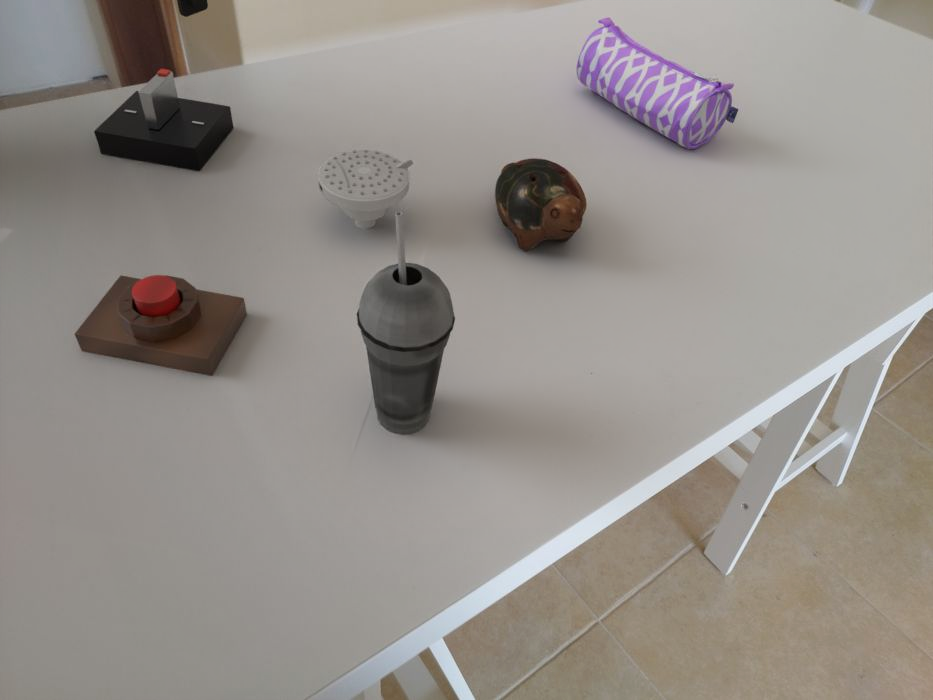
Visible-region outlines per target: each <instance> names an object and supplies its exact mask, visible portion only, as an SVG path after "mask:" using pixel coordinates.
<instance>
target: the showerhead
mask: <svg viewBox="0 0 933 700" xmlns="http://www.w3.org/2000/svg"><path fill="white" fill-rule="evenodd" d="M413 165H414V161H413V160H412V159H411V158H407V159H405V160H403V161H401V160H400V159H399V158H397V157H395V156H394V155H392V154H389V153H386V152H383V151H378V150H372V149H354V150H347V151H343V152H339V153H337V154H333V155H332V156H331V157H329V158H327V159H326V160H324V162H322V164H321V165H320V167H319V168H318V172H317V179H318V189H319V191H320V193H321V195H322V196H323V198H324V199H326V200H327V201H328V202H330V203H332V204H333V205H335V206H337V207H340V208H342V211H343V213H344V214H345V215H346V216H347V217H349V218H351V219H352V220H354V224H355V226H356V227H358V228H359V229H365V230H367V229H372V228H373V227H375V225H376V220H377V219H380V218H381V217H383V216H384V215H385V214H387V213H386V212H387V210H388V208H391V207H393V206H395V205H397V204H398V203H400V202H401V201H403V200H404V198H406V196H407V195H408V192H409V190H410V180H411V179H410V178H411V174H410V171H409V168H410V167H411V166H413Z"/></svg>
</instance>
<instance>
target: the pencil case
mask: <svg viewBox="0 0 933 700" xmlns="http://www.w3.org/2000/svg"><path fill="white" fill-rule="evenodd" d="M597 21H598V22H597V23H598V24H602V25H603V26H600V27H597V28H596V29H594V30H593V31H592V32H591V33H590V34H589V35H588V37H587V38H586V40H585V42H584V44H583V46H582V49H581V50H580V53H579V56H578V58H577V63H576V77H577V79H578V81H579V82H580V84H582V85H583V86H584V87H587V88H588V89H589V90H590V91H591V92H594V93H595V94H597V95H599V96H600V97H602V98H603V99H605V100H606V101H608V102H609V103H611V104H612V105H614V106H615V107H616V108H618V109H619V110H621V111H623V112H624V113H626V114H627V115H629V116H631V117H632V118H634V119H636V120H637V121H639V122H640V123H642V124H644V125H646V126H647V127H649V128H651V129H652V130H654V131H655V132H657V133H659V134H661V135H662V136H664V137H665V138H667V139H670V140H671V141H673V142H675V143H676V144H678V145H679V146H681V147H683V148H686V149H688V150H693V149H694V150H695V149H697V148H699V147H700V146H703V145H705V144H706V143H708V142H710V141H711V140H712V139H713V138H714V137H716V135H717V134H718V133H719V131H720V130H721V129H722V127H723V126H724V124H725V122H726V121H727V122H728V123H730V124H734V122H735V120H736V117H737V114H738V112H739V108H738V107H734V106H732V104H733V95H732V93H731V92H730V90H732V89H733V87H734V86H735V83H733V82H731V83H730V82H727V83H723V82H722V81H720V80H719V78H718V77H716V76H712V77H709V76H707V75H704V74H701V73H696V72H694V71H692V70H689V69H688V68H687V67H686V68H685V67H684V66H682V65H680V64H678V63H676V62H674V61H671V60H668V59H667V58H664V57H663V56H661V55H660V54H658V53H656V52H654V51H652V50H650V49H648V48H647V47H645V46H644V45H642V44H641V43H638V42H637V41H635V40H634V39H633V38H631V37H630V36H629V35H628V34H627V33H626V32H625V31H623V30H622V29H621V28H620V26H618V25H616V24H615V22H614V21H613V20H612V19H611V17H608V16H607V17H604V18H601V19H598V20H597Z"/></svg>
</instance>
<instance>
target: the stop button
mask: <svg viewBox="0 0 933 700" xmlns="http://www.w3.org/2000/svg"><path fill="white" fill-rule="evenodd" d="M167 276H168V275H167ZM167 276H164V275H163V274H162V275H161V274H155V275H149V276H146V277H143V278H140V279H141V280H140V281H138V282H137V283H136V284H135V285H134V287H133V289H132V295H133V298H134V301H135V304H136V307H137V310H138V311H139V312H140V313H141V314H142V315H144V316H148V317H158V316H164V315H168V314H170V313H171V312H173V311H175V310H176V309H177V308H178V306H179V304H180V297H179V293H178V290H177V286H176V283H175V281H174V280H173V279H171V278H169V277H167Z"/></svg>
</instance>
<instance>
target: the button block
mask: <svg viewBox="0 0 933 700" xmlns="http://www.w3.org/2000/svg"><path fill="white" fill-rule="evenodd" d="M163 276H167V277H169V278H171V279H173V280H174V281H175V283H176V286H177V290H178V293H179V297H180V304H179V306H178V308H177V309H176V310H175V311H173V312H171V313H170V314H168V315H164V316H158V317H148V316H144V315H142V314H141V313H140V312H139V311H138V310H137V307H136V304H135V301H134V298H133V295H132V289H133V287H134V285H135V284H136V283H137V282H138V281H140V280H141V279H142V278H136V277H132V276H127V275H119V277H118V278H117V279H116V280H115V282H114V283H113V284H112V286H111V287H109V289H108V290H107V292H106V293H105V295H104V296H103V297H102V298H101V300H100V301H99V302H98V303H97V304H96V306H95V307H94V308H93V310H92V311H91V312H90V313H89V315H88V316H87V317H86V318H85V320H84V321H83V322H82V323H81V325H80V326H79V327H78V329H77V330H76V331H75V332H74V337H75V340H76V341H77V344H78V347H79V348H80V351H81V352H84V353H90V354H94V355H100V356H106V357H110V358H116V359H121V360H126V361H131V362H137V363H142V364H148V365H153V366H157V367H162V368H168V369H172V370H173V369H174V370H178V371H183V372H189V373H193V374H194V373H195V374H199V375H205V376H209V377H213V376H214V374H215V372H216V370H217V369H218V367H219V365H220V364H221V361H222V360H223V358H224V356H225V354H226V353H227V351H228V349H229V348H230V346H231V344H232V342H233V341H234V339H235V337H236V335H237V334H238V331H239V330H240V328H241V327H242V325H243V323H244V321H245V320H246V318H247V316H248V313H247V306H246V302H245V301H246V300H245V298H244V297H240V296H235V295H229V294H225V293H224V294H223V293H219V292H213V291H208V290H202V289H197V288H196V287H195V286H194V285H192V284H191V283H190V282H188V281H187V280H186V279H185V278H182V277H178V276H177V277H176V276H173V275H163Z"/></svg>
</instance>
